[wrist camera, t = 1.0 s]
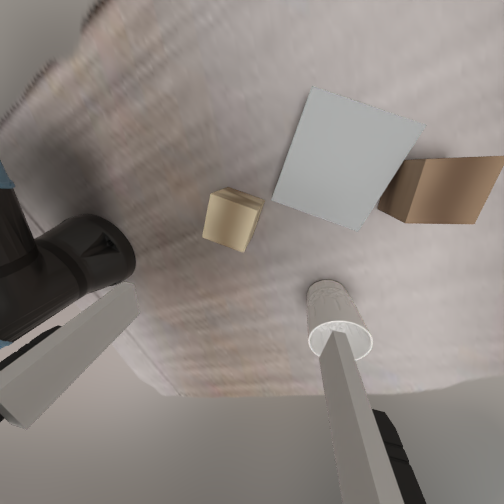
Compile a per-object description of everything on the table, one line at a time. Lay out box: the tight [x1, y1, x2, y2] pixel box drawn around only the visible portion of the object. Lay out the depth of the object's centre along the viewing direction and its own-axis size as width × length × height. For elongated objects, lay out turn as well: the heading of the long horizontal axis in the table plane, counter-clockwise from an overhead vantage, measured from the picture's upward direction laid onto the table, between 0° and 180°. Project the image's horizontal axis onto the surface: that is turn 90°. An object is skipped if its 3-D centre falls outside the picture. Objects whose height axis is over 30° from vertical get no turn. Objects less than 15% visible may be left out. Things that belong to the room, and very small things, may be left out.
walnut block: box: [378, 156, 504, 224], centre depth 20 cm, size 6×6×7 cm
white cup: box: [307, 280, 373, 361], centre depth 28 cm, size 8×8×10 cm
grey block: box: [271, 86, 426, 232], centre depth 23 cm, size 12×12×4 cm
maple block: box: [202, 187, 265, 253], centre depth 26 cm, size 6×6×7 cm
